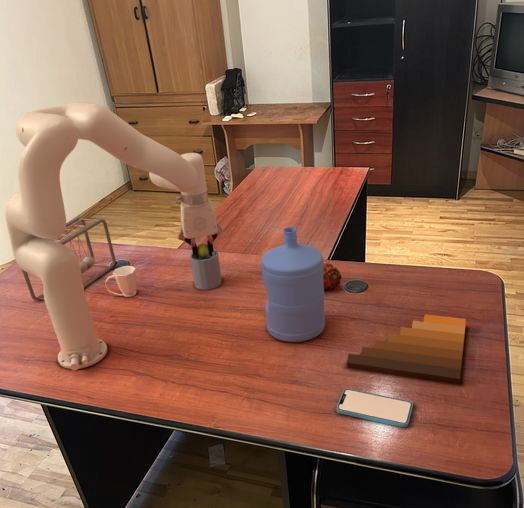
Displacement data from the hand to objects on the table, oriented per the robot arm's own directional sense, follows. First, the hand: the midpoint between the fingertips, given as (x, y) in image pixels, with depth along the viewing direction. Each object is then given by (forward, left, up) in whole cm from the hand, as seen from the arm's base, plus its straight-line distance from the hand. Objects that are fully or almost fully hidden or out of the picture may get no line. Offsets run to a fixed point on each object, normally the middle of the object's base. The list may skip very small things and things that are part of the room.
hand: (203, 255), depth 167 cm
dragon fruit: (-17, -32, -10) cm, 38 cm away
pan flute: (-54, -41, -10) cm, 69 cm away
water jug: (-35, -18, -10) cm, 41 cm away
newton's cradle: (+18, +41, -10) cm, 46 cm away
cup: (+3, +26, -10) cm, 28 cm away
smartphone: (-72, -24, -10) cm, 76 cm away
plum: (0, 0, 0) cm, 0 cm away
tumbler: (0, 0, -10) cm, 10 cm away
